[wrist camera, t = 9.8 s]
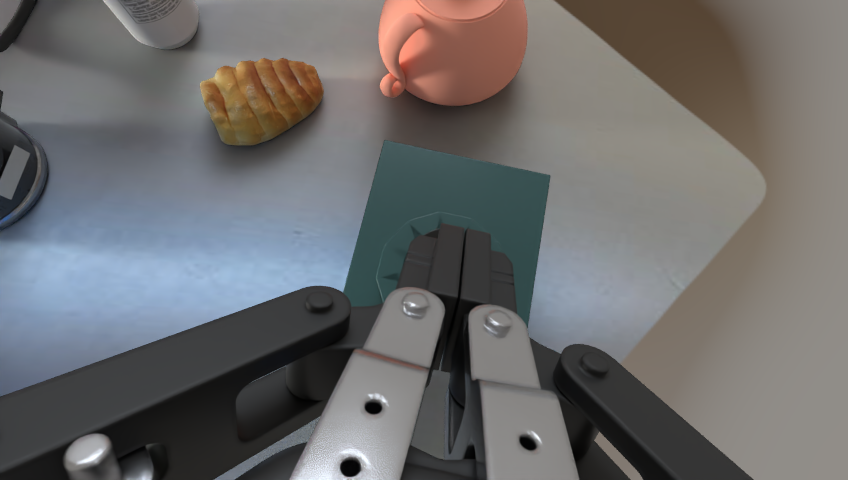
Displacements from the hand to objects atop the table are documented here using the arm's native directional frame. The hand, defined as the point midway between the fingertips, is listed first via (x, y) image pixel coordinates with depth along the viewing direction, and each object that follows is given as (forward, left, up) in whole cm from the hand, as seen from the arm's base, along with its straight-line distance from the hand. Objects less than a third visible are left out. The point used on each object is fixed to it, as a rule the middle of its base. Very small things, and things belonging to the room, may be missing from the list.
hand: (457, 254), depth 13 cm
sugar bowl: (-20, +10, -21) cm, 31 cm away
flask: (-3, +2, -21) cm, 21 cm away
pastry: (-22, -6, -21) cm, 31 cm away
